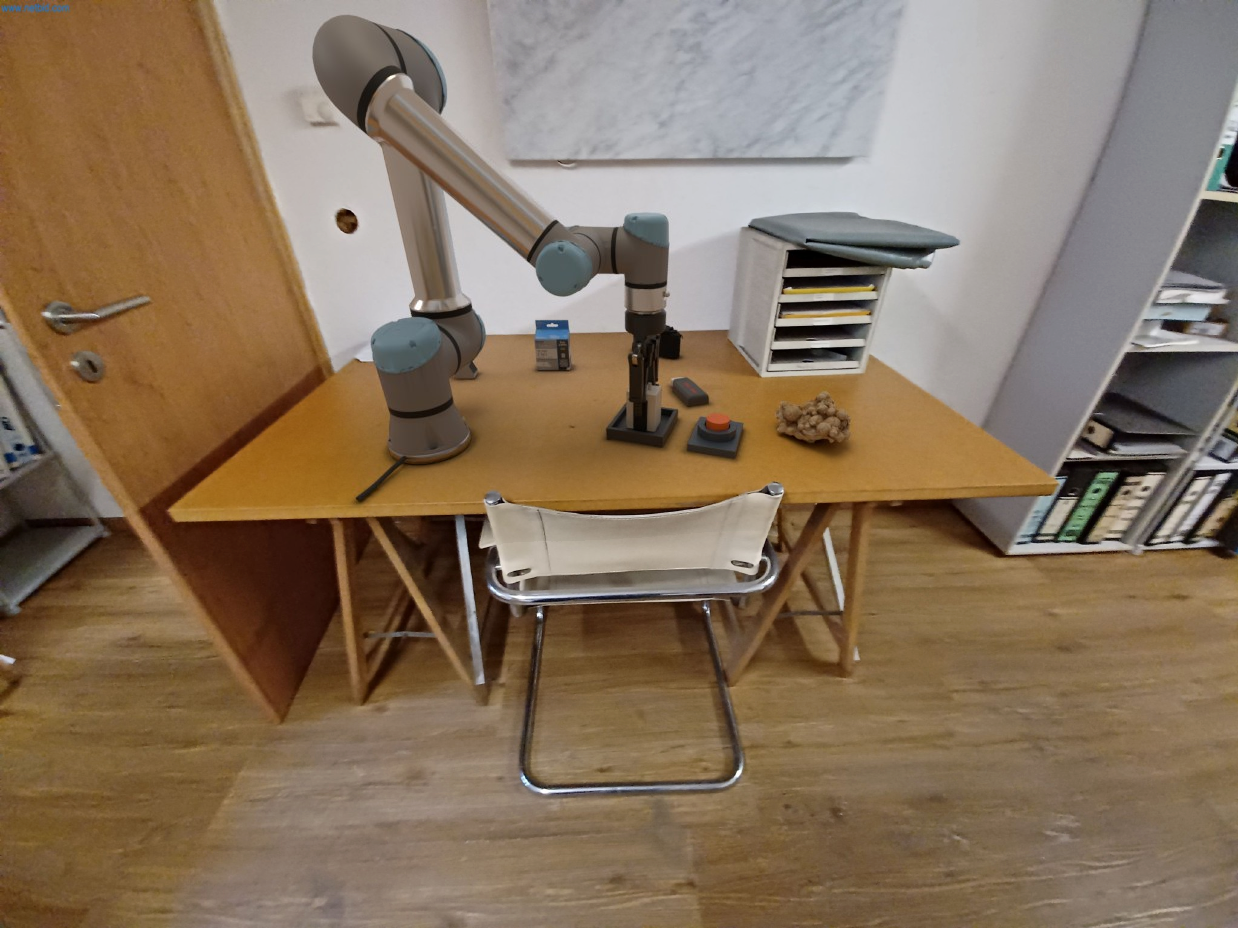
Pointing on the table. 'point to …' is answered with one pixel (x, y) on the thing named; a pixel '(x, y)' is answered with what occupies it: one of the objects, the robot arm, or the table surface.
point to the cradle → (649, 438)
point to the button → (717, 422)
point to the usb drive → (689, 392)
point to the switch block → (715, 439)
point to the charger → (653, 407)
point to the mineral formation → (814, 420)
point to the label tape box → (552, 345)
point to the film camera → (669, 343)
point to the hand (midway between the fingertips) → (643, 423)
